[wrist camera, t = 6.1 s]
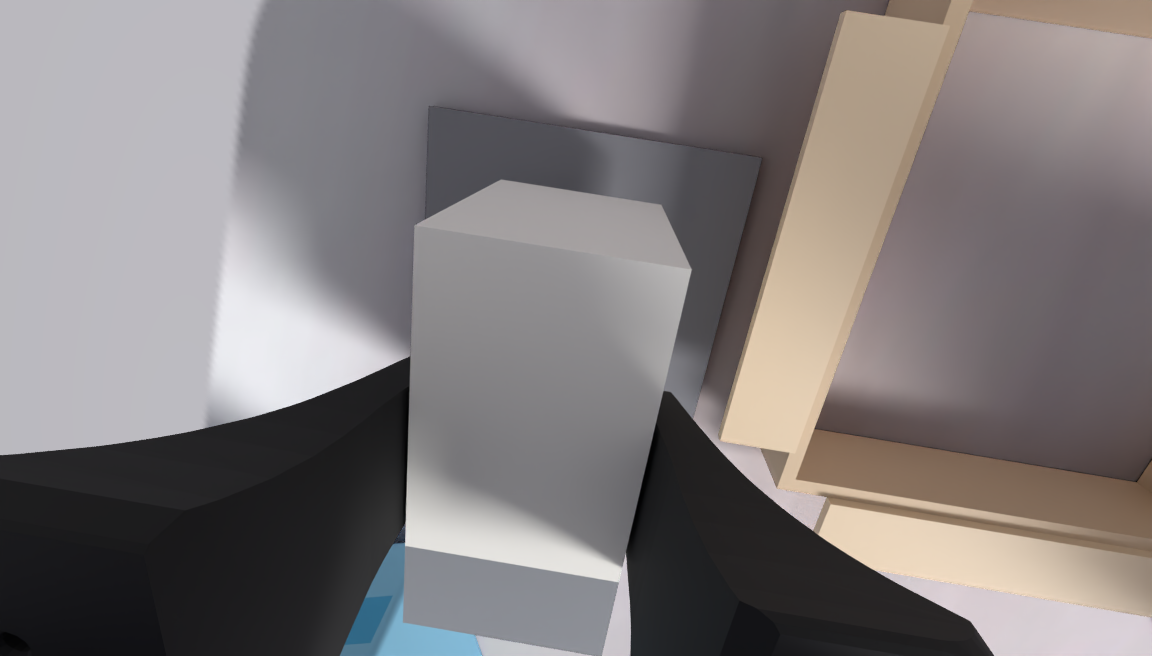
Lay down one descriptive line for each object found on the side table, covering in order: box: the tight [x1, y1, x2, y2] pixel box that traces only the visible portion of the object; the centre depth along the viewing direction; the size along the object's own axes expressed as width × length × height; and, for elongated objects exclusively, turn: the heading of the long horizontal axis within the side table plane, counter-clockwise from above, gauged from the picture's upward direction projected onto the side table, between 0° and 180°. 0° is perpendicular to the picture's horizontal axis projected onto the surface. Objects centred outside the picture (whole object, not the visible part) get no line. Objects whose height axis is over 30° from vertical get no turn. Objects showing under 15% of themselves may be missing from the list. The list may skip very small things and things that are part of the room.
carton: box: [718, 0, 1152, 618], centre depth 14 cm, size 17×15×3 cm
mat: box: [425, 106, 762, 419], centre depth 17 cm, size 9×11×1 cm
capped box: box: [403, 180, 692, 656], centre depth 12 cm, size 4×8×6 cm, turn 172°
